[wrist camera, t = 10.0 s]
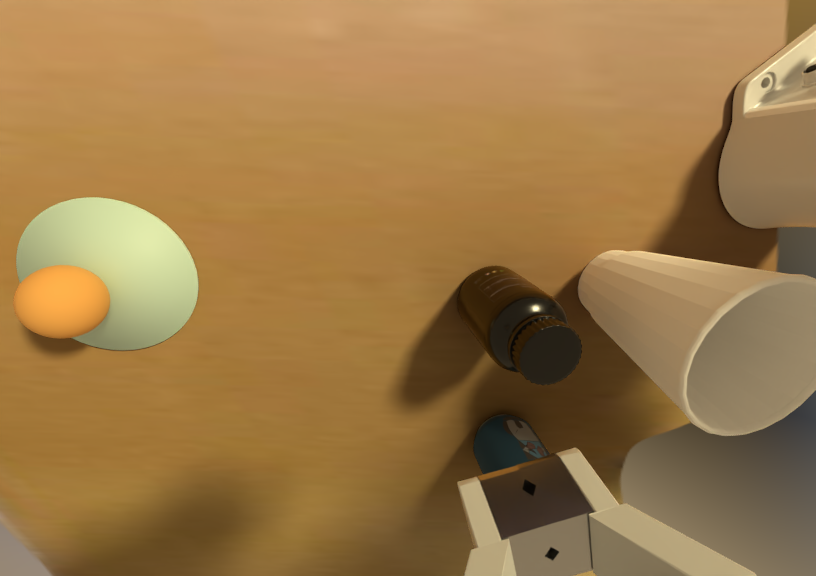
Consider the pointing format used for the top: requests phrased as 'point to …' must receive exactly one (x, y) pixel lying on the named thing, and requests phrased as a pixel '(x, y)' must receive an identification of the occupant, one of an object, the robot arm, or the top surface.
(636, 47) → the top surface
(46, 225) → the pale green disc
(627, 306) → the cup
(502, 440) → the soda can
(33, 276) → the ball
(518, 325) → the supplement bottle
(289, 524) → the top surface
